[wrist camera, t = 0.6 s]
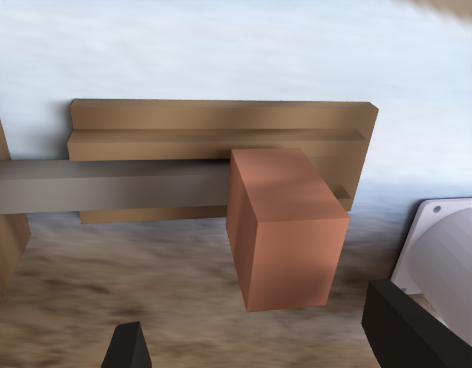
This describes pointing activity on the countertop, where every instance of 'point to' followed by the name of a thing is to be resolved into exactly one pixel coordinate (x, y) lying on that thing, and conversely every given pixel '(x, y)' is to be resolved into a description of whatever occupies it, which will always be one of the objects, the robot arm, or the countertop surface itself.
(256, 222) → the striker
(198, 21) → the countertop surface
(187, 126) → the track board
